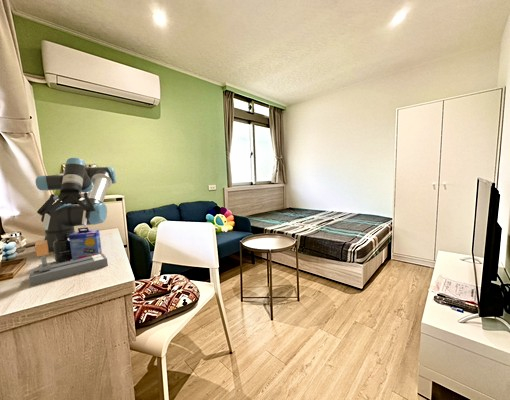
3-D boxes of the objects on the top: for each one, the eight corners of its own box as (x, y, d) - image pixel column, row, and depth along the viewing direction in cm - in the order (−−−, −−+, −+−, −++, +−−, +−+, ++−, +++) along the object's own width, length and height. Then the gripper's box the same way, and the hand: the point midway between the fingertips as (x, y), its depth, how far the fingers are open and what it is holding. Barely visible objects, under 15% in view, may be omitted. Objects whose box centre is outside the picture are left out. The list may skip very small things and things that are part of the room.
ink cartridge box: (71, 263, 92) (67, 229, 91) (76, 258, 98) (72, 227, 96) (99, 258, 96) (95, 226, 95) (102, 254, 101) (98, 224, 100)
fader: (39, 272, 75) (35, 245, 74) (39, 267, 79) (35, 241, 78) (51, 269, 77) (47, 243, 76) (50, 265, 82) (47, 240, 80)
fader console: (30, 286, 73) (28, 277, 72) (31, 277, 79) (30, 269, 79) (107, 265, 88) (106, 258, 88) (103, 260, 94) (102, 253, 94)
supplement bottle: (63, 263, 92) (60, 235, 91) (51, 262, 94) (47, 235, 93) (79, 257, 99) (76, 231, 98) (67, 256, 101) (64, 231, 99)
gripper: (33, 182, 95) (21, 226, 86) (100, 180, 104) (96, 219, 94) (42, 192, 101) (32, 234, 92) (105, 188, 110) (101, 226, 100)
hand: (64, 226), depth 93 cm, fingers open, 13 cm apart
